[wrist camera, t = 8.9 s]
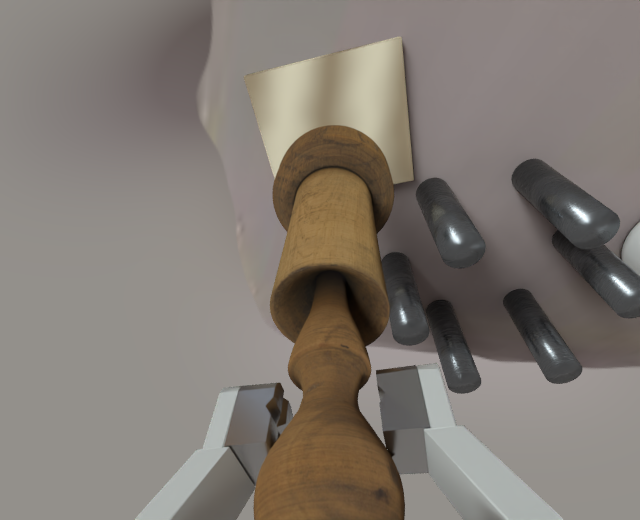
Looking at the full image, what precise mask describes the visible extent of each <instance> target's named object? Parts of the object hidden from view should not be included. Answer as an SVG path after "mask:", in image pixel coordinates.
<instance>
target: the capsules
mask: <svg viewBox="0 0 640 520" xmlns="http://www.w3.org/2000/svg"><path fill="white" fill-rule="evenodd" d="M512 184H513V186H514V187H515V188H516V189H517V190H518V191H519V192H520V193H521V194H522V195H523V196H524V197H525V198H526V199H527V200H528V201H529V202H530V203H531V204H532V205H533V206H534V207H535V208H536V209H537V210H538V211H540V212H541V213H542V214H543V215H544V216H545V217H546V218H547V219H548V220H549V221H550V222H551V223H552V224H553V225H554V226H555V227H556V228H557V229H558V230H557V231H556V233H555V234H554V236H553V238H552V244H553V246H554V247H555V248H556V249H557V250H558V251H559V252H560V253H561V254H562V255H563V257H564V258H565V259H566V260H567V261H568V262H569V263H570V264H571V265H572V266H573V267H574V268H575V269H576V270H577V271H578V273H579V274H580V275H581V276H582V277H583V278H584V279H585V280H586V281H587V282H588V283H589V284H590V285H591V286H592V288H593V289H594V290H595V291H596V292H597V293H598V294H599V295H600V296H601V297H602V298H603V299H604V300H605V301H606V303H607V304H608V305H609V306H610V307H611V308H612V309H613V310H614V311H615V312H616V313H617V314H618V315H619V316H620V317H623V318H636V317H640V276H639V275H638V274H637V273H636V272H635V271H634V270H632V269H631V268H630V267H629V266H628V265H627V264H625V263H624V262H623V261H622V260H621V259H620V258H619V257H617V256H616V255H615V254H614V253H613V252H612V251H610V250H609V249H608V248H607V247H606V246H605V245H604V244H605V243H607V242H608V241H609V240H610V239H612V238H613V237H614V235H615V234H616V233H617V231H618V229H619V226H620V219H619V217H618V215H617V214H616V213H614V212H613V211H612V210H610V209H609V208H607V207H606V206H605V205H603V204H602V203H600V202H599V201H598V200H596V199H595V198H593V197H592V196H591V195H589V194H588V193H586V192H585V191H584V190H582V189H581V188H580V187H578V186H577V185H575V184H574V183H573V182H571V181H570V180H568V179H567V178H566V177H564V176H563V175H561V174H560V173H559V172H557V171H556V170H554V169H553V168H552V167H550V166H549V165H547V164H546V163H545V162H543V161H542V160H539V159H530V160H527V161H525V162H523V163H521V164H520V165H519V166H518V167H517V168H516V169H515V171H514V172H513V175H512ZM416 199H417V201H418V204H419V206H420V208H421V210H422V213H423V215H424V217H425V220H426V222H427V224H428V227H429V229H430V231H431V234H432V236H433V238H434V241H435V243H436V245H437V248H438V250H439V252H440V255H441V257H442V259H443V261H444V262H445V263H446V264H447V265H448V266H450V267H453V268H466V267H469V266H472V265H474V264H475V263H477V262H478V261H479V260H480V259H481V258H482V256H483V255H484V252H485V242H484V240H483V239H482V237H481V235H480V234H479V232H478V231H477V229H476V228H475V226H474V225H473V223H472V222H471V220H470V219H469V217H468V215H467V214H466V212H465V211H464V209H463V208H462V206H461V205H460V203H459V202H458V200H457V198H456V197H455V195H454V194H453V192H452V191H451V189H450V188H449V186H448V185H447V183H446V182H445V181H444V180H442V179H440V178H430V179H427V180H425V181H424V182H422V183H421V184H420V186H419V187H418V189H417V192H416ZM381 263H382V269H383V274H384V279H385V284H386V289H387V294H388V300H389V306H390V314H389V317H390V322H391V328H392V334H393V338H394V339H395V340H396V341H397V342H398V343H400V344H403V345H416V344H419V343H421V342H423V341H424V340H425V339H426V338H427V337H428V335H429V327H428V323H427V320H426V317H425V313H424V310H423V306H422V303H421V300H420V296H419V293H418V289H417V286H416V283H415V279H414V276H413V272H412V269H411V266H410V262H409V259H408V257H407V256H406V255H404V254H402V253H398V252H395V253H390V254H388V255H386V256H385V257H384V258H383V259H382V261H381ZM503 304H504V306H505V308H506V309H507V311H508V313H509V315H510V316H511V318H512V320H513V322H514V323H515V325H516V327H517V329H518V330H519V332H520V334H521V336H522V337H523V339H524V341H525V343H526V344H527V346H528V348H529V349H530V351H531V353H532V355H533V356H534V358H535V360H536V362H537V363H538V365H539V367H540V369H541V370H542V372H543V374H544V376H545V377H546V379H547V380H548V381H549V382H551V383H556V384H560V383H561V384H562V383H567V382H570V381H572V380H574V379H576V378H577V377H578V376H579V375H580V374H581V372H582V366H581V365H580V363H579V362H578V360H577V359H576V358H575V356H574V355H573V353H572V352H571V350H570V349H569V347H568V346H567V345H566V343H565V342H564V340H563V339H562V337H561V336H560V334H559V333H558V332H557V330H556V329H555V327H554V326H553V324H552V323H551V322H550V320H549V319H548V317H547V316H546V314H545V313H544V311H543V310H542V309H541V307H540V306H539V304H538V303H537V301H536V300H535V298H534V297H533V296H532V294H531V293H530V292H529V291H528V290H525V289H517V290H514V291H511V292H510V293H508V294H507V295H506V296H505V298H504V300H503ZM426 315H427V318H428V322H429V325H430V328H431V332H432V335H433V338H434V342H435V345H436V348H437V352H438V355H439V358H440V362H441V365H442V369H443V372H444V375H445V378H446V382H447V385H448V388H449V389H450V390H451V391H452V392H455V393H469V392H472V391H474V390H476V389H477V388H478V387H479V386H480V384H481V378H480V375H479V373H478V371H477V368H476V365H475V363H474V360H473V358H472V355H471V353H470V350H469V348H468V345H467V343H466V340H465V337H464V335H463V332H462V330H461V327H460V325H459V322H458V320H457V317H456V315H455V312H454V310H453V307H452V305H451V304H450V303H449V302H447V301H444V300H438V301H434V302H432V303H431V304H429V305H428V307H427V308H426Z"/></svg>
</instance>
